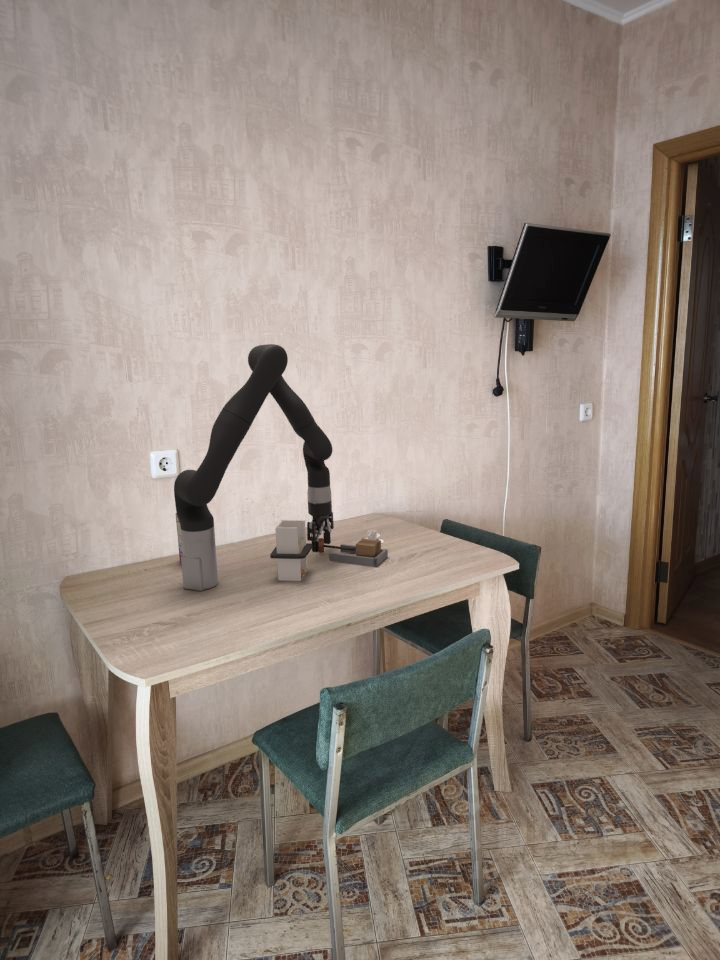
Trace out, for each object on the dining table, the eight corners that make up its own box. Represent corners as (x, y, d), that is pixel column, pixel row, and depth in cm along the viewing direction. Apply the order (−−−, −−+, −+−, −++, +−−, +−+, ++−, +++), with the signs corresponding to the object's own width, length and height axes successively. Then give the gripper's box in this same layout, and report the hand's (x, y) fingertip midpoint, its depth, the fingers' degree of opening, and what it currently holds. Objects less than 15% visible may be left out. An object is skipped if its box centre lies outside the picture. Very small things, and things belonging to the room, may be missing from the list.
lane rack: (376, 567, 201) (376, 559, 200) (328, 560, 207) (328, 553, 206) (387, 556, 209) (387, 549, 209) (341, 551, 216) (341, 543, 215)
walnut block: (373, 564, 203) (373, 546, 202) (314, 557, 211) (313, 539, 210) (381, 558, 208) (380, 540, 207) (322, 551, 216) (322, 533, 215)
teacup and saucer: (374, 536, 231) (373, 525, 230) (390, 542, 225) (390, 530, 224) (355, 542, 225) (355, 531, 224) (371, 548, 219) (371, 536, 218)
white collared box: (326, 594, 182) (324, 538, 178) (240, 592, 185) (237, 536, 181) (339, 563, 206) (338, 512, 202) (263, 561, 209) (260, 511, 205)
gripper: (319, 492, 217) (320, 539, 221) (298, 503, 204) (300, 553, 208) (339, 494, 214) (341, 542, 218) (320, 505, 201) (322, 556, 205)
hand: (321, 547), depth 213 cm, fingers open, 8 cm apart
